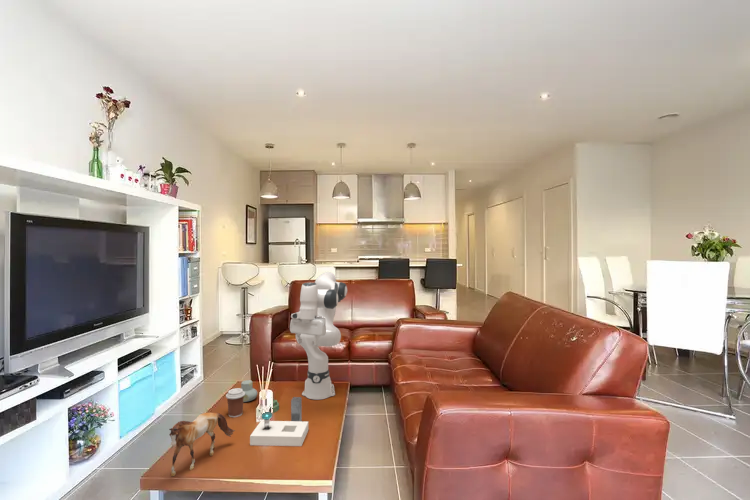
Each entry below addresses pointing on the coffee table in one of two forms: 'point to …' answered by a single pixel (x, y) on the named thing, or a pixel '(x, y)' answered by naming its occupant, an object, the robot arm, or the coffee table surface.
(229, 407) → the coffee cup
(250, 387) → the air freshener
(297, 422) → the socket block
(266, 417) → the lock pin
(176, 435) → the horse figurine
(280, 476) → the coffee table surface
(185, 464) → the coffee table surface
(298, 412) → the peg
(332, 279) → the robot arm
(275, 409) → the decorative artifact
